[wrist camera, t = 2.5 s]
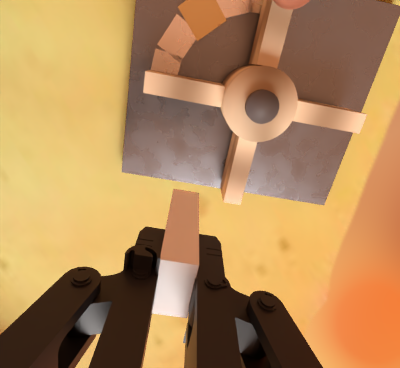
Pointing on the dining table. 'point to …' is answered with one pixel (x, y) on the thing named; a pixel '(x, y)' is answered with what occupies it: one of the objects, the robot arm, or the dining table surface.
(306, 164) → the stand
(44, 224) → the dining table surface
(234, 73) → the capstan
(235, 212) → the dining table surface
